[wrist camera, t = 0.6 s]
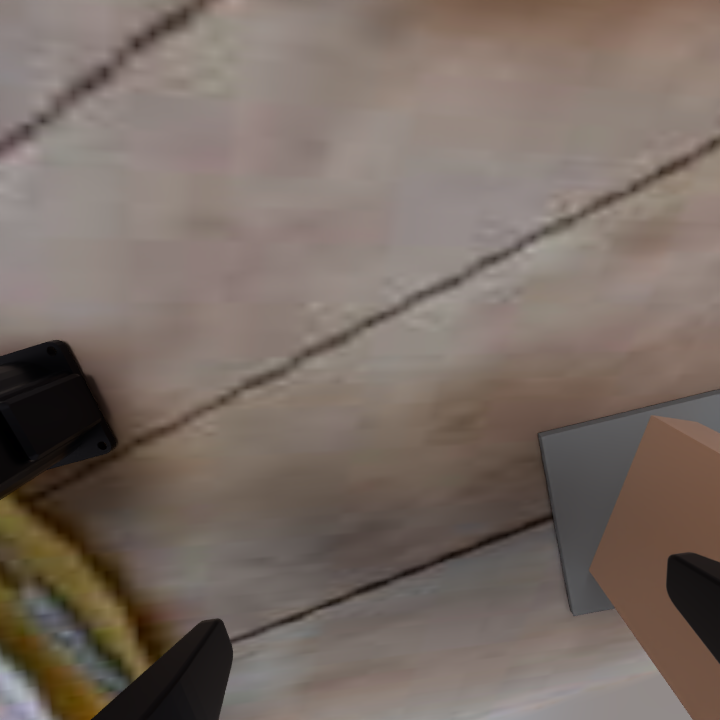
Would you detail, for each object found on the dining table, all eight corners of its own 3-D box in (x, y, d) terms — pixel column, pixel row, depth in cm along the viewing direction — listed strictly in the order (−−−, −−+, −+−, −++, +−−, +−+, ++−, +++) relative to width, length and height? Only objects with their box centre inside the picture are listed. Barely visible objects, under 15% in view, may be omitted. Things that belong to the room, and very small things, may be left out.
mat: (570, 609, 23) (573, 616, 22) (538, 433, 19) (541, 436, 19) (833, 559, 21) (841, 565, 21) (844, 358, 18) (855, 361, 18)
